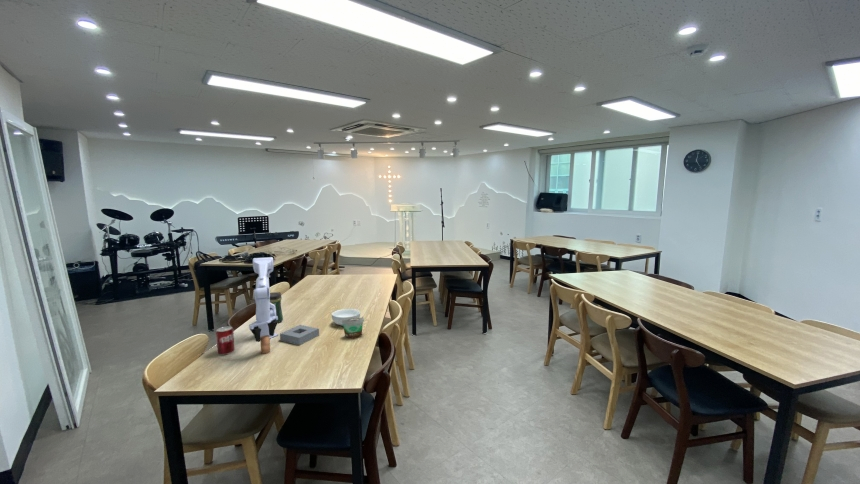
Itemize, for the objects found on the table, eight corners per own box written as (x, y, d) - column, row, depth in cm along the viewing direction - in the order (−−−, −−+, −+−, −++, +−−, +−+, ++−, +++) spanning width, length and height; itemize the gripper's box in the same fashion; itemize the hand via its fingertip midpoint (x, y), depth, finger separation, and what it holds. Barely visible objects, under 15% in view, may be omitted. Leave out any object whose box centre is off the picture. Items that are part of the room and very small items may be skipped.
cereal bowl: (366, 322, 203) (365, 311, 202) (345, 331, 189) (345, 319, 188) (346, 317, 212) (346, 306, 211) (326, 325, 198) (325, 313, 197)
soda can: (238, 350, 164) (236, 327, 162) (224, 356, 157) (223, 332, 156) (227, 348, 166) (225, 325, 165) (213, 354, 159) (212, 330, 158)
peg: (259, 353, 160) (258, 337, 159) (266, 349, 164) (265, 334, 163) (265, 354, 159) (264, 338, 158) (272, 351, 162) (271, 335, 161)
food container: (344, 340, 175) (344, 322, 174) (342, 336, 180) (341, 319, 179) (367, 336, 181) (366, 319, 180) (364, 332, 186) (363, 315, 185)
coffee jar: (284, 319, 208) (283, 290, 206) (280, 323, 200) (278, 294, 198) (268, 319, 207) (266, 291, 205) (263, 324, 199) (262, 294, 197)
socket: (280, 340, 175) (279, 333, 175) (300, 331, 188) (300, 324, 187) (299, 345, 169) (299, 337, 169) (319, 335, 182) (318, 328, 182)
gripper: (255, 317, 151) (257, 345, 152) (281, 308, 164) (282, 334, 165) (245, 315, 154) (247, 342, 155) (271, 306, 167) (273, 332, 168)
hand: (264, 338), depth 160 cm, fingers open, 7 cm apart
